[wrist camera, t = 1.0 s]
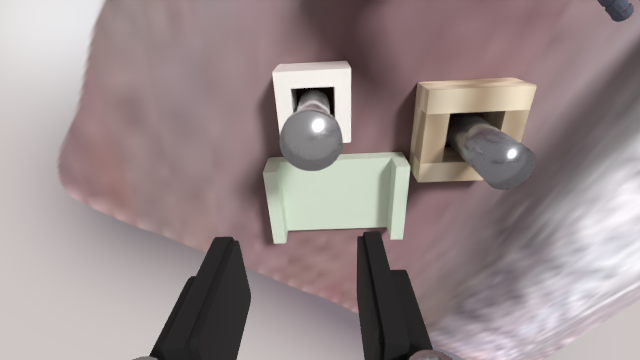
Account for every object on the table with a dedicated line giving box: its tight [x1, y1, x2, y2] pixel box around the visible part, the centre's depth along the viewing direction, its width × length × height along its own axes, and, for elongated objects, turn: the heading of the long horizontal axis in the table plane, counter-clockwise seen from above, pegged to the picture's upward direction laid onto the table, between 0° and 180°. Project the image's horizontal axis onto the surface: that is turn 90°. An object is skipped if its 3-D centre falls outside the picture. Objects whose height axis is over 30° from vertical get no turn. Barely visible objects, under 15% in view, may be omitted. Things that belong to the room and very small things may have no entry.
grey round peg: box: [446, 112, 536, 190], centre depth 29 cm, size 4×4×11 cm
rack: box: [263, 152, 410, 244], centre depth 37 cm, size 16×10×4 cm, turn 93°
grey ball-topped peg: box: [279, 90, 343, 171], centre depth 25 cm, size 4×4×10 cm
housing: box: [272, 61, 351, 143], centre depth 31 cm, size 7×7×5 cm
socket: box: [409, 78, 537, 182], centre depth 32 cm, size 10×10×4 cm
